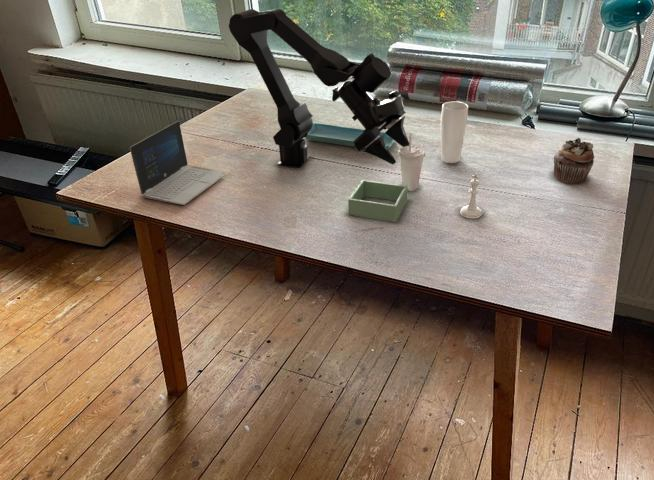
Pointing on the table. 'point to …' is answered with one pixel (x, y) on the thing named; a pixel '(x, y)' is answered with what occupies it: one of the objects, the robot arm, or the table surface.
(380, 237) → the table surface
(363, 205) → the green open tray
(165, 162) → the laptop
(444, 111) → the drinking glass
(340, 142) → the shallow long dish
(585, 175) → the cupcake
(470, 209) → the chess piece
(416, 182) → the smoothie
